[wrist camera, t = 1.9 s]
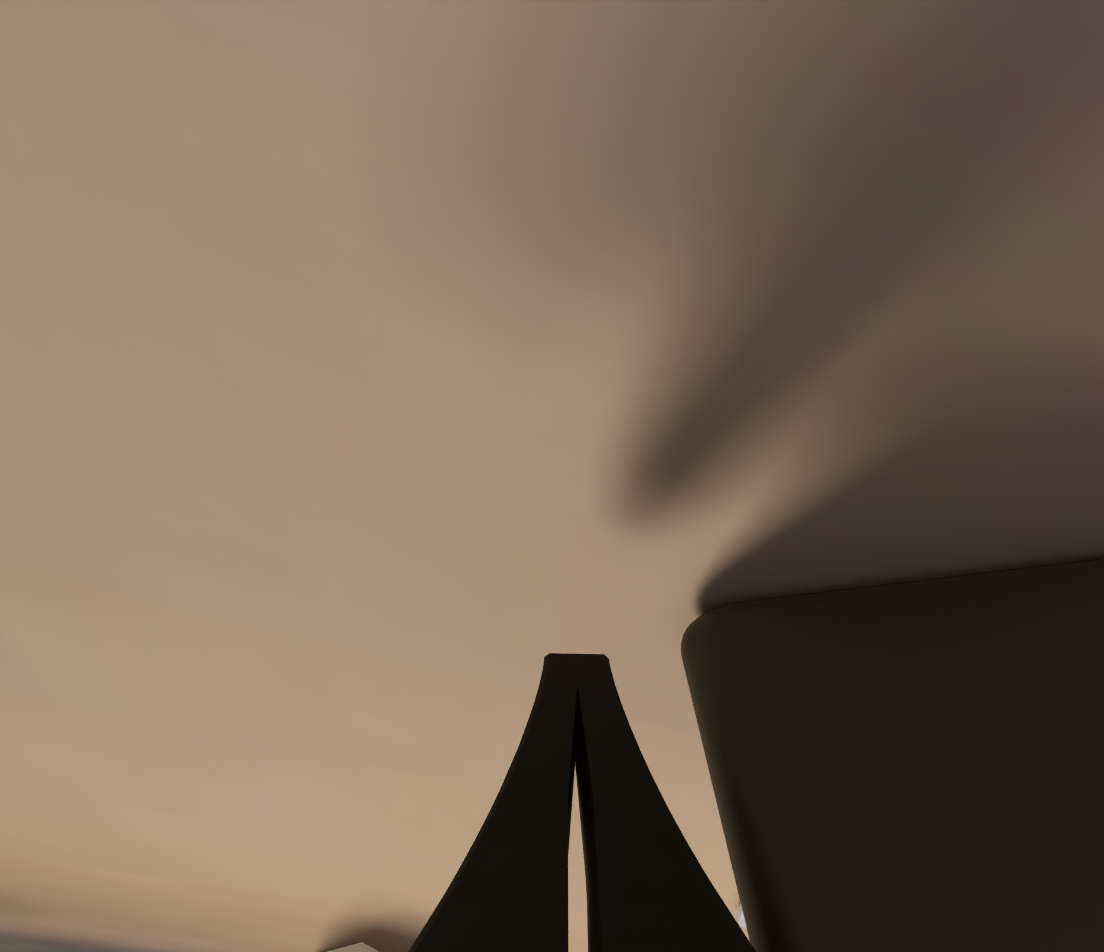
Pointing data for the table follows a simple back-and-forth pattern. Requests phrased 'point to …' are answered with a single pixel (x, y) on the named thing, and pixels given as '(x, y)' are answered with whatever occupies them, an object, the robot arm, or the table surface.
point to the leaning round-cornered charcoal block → (912, 762)
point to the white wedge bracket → (355, 948)
